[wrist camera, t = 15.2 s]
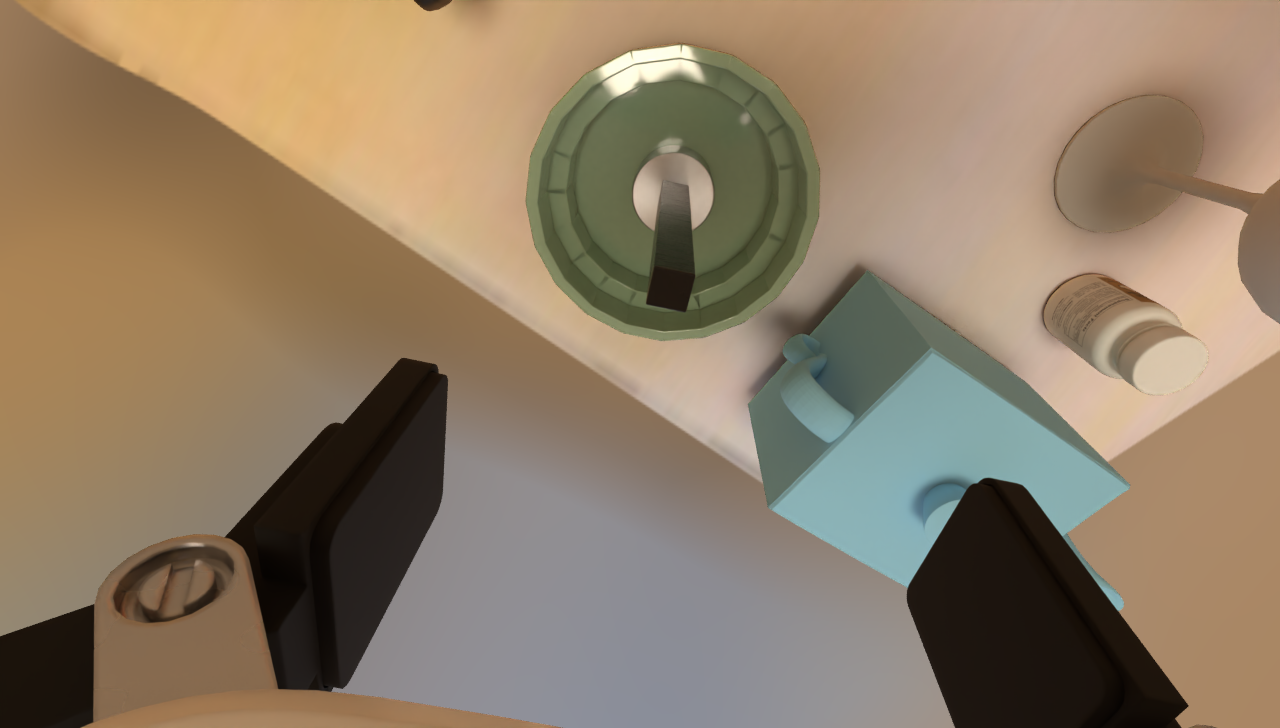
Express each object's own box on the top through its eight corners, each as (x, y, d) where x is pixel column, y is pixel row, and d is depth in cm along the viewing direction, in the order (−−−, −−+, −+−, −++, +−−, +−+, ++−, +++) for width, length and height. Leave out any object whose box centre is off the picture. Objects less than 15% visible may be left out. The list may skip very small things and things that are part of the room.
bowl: (833, 77, 32) (865, 84, 26) (756, 318, 38) (768, 363, 33) (567, 16, 31) (545, 12, 26) (536, 273, 38) (513, 311, 32)
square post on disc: (721, 154, 33) (753, 240, 19) (701, 231, 35) (717, 360, 21) (642, 137, 33) (616, 211, 19) (627, 215, 35) (594, 335, 21)
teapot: (712, 370, 40) (727, 513, 28) (824, 235, 36) (900, 337, 23) (950, 516, 45) (1050, 691, 33) (1076, 414, 40) (1248, 575, 28)
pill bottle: (1130, 311, 37) (1233, 374, 30) (1058, 351, 38) (1140, 418, 31) (1103, 257, 35) (1205, 309, 28) (1029, 300, 37) (1109, 359, 30)
